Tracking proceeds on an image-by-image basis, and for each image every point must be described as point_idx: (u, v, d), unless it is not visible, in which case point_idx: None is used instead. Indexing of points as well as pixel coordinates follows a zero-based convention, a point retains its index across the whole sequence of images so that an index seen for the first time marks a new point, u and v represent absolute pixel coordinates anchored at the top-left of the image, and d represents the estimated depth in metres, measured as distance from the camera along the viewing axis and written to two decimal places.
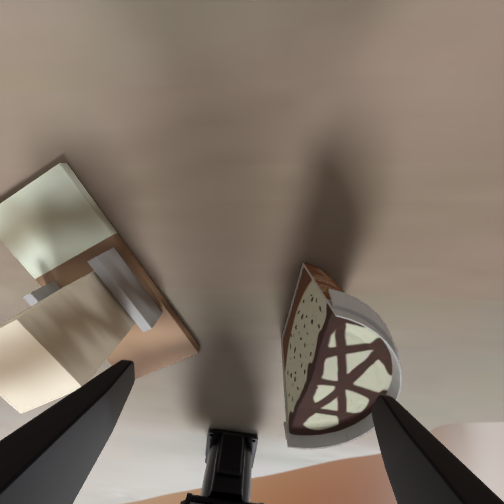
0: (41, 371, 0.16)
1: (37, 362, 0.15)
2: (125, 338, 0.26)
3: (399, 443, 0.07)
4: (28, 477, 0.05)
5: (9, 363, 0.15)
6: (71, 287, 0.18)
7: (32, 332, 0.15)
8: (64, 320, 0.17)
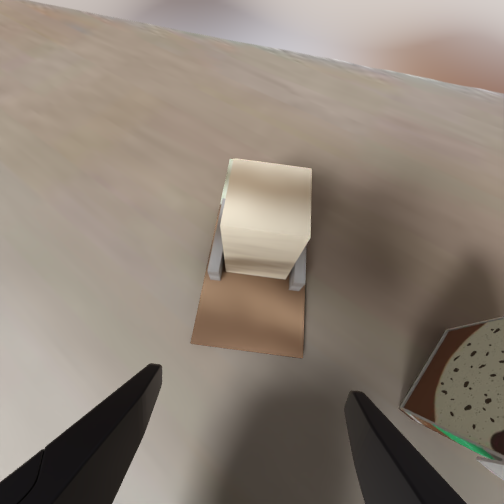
0: (288, 205, 0.17)
1: (293, 198, 0.17)
2: (241, 292, 0.23)
3: (366, 439, 0.07)
4: (76, 483, 0.05)
5: (268, 186, 0.17)
6: None
7: (311, 181, 0.18)
8: None
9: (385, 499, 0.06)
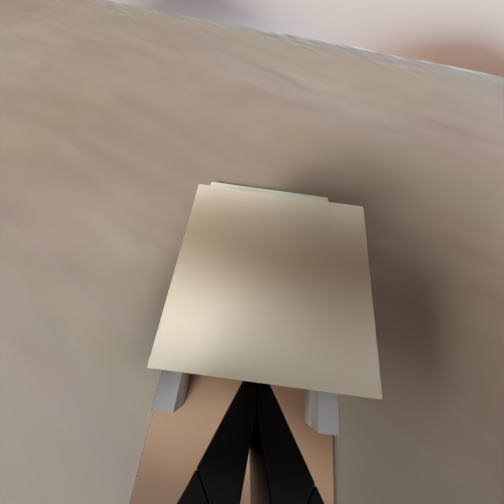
0: (319, 301, 0.07)
1: (330, 280, 0.07)
2: None
3: (254, 423, 0.07)
4: None
5: (272, 252, 0.08)
6: None
7: (364, 235, 0.08)
8: None
9: (256, 481, 0.06)
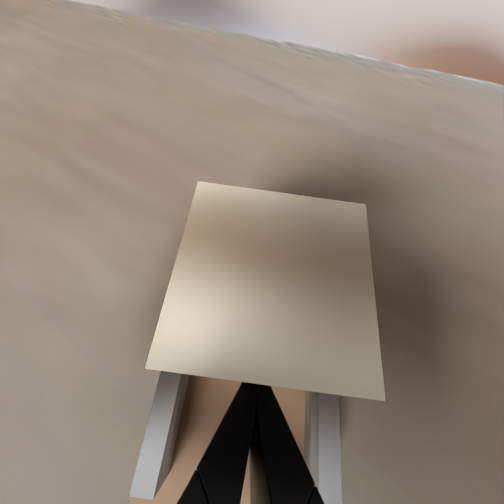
0: (321, 300, 0.07)
1: (332, 279, 0.07)
2: None
3: (254, 424, 0.07)
4: None
5: (272, 250, 0.07)
6: None
7: (366, 233, 0.08)
8: None
9: (256, 482, 0.06)
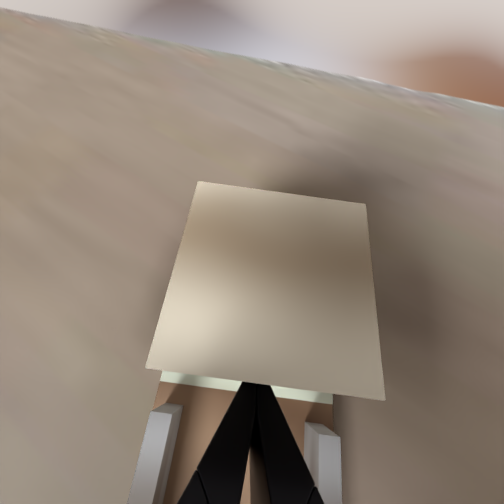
0: (321, 300, 0.07)
1: (332, 278, 0.07)
2: None
3: (254, 424, 0.07)
4: None
5: (272, 250, 0.07)
6: None
7: (366, 233, 0.08)
8: None
9: (256, 481, 0.06)
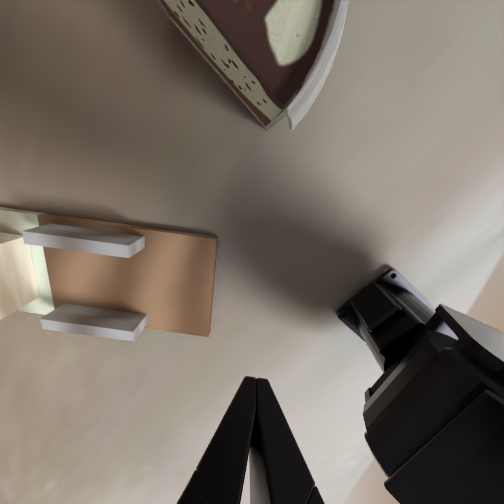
0: None
1: None
2: (155, 295, 0.22)
3: (254, 424, 0.07)
4: None
5: None
6: None
7: None
8: None
9: (256, 481, 0.06)
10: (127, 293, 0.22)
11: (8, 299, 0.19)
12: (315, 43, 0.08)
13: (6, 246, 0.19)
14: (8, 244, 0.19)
